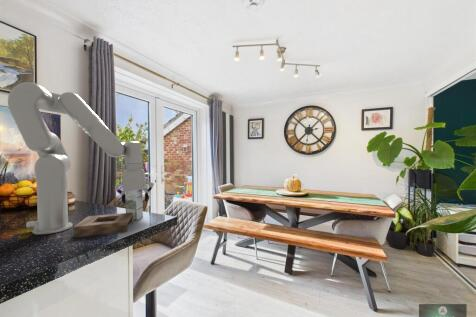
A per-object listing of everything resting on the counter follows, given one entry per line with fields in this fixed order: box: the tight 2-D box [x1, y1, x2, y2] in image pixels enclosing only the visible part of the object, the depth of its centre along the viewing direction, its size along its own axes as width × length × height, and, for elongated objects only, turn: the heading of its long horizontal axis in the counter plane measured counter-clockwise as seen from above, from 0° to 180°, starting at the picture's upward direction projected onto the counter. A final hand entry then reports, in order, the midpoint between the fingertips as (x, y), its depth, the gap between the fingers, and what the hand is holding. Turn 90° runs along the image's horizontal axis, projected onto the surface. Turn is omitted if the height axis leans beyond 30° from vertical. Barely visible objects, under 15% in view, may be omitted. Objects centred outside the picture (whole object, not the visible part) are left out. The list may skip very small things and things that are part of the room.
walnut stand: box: [72, 212, 134, 238], centre depth 89 cm, size 18×15×4 cm
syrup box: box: [125, 190, 144, 221], centre depth 104 cm, size 6×6×14 cm
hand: (135, 201), depth 104 cm, fingers open, 9 cm apart
